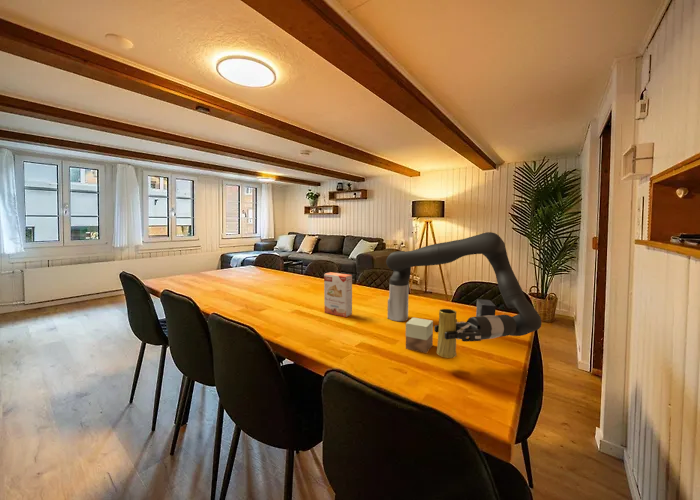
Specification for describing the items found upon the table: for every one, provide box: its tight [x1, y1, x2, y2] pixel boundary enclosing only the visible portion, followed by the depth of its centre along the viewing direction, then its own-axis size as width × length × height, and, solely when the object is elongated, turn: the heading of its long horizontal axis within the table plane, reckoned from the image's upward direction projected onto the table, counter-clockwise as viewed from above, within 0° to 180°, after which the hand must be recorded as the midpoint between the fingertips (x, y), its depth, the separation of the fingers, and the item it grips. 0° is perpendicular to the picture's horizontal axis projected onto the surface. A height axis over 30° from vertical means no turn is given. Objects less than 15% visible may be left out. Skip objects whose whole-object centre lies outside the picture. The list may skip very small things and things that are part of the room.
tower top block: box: [405, 317, 434, 340], centre depth 116 cm, size 8×8×5 cm
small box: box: [475, 298, 497, 317], centre depth 142 cm, size 11×6×10 cm, turn 168°
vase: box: [436, 308, 457, 359], centre depth 98 cm, size 6×6×14 cm
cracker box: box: [323, 271, 353, 318], centre depth 157 cm, size 14×6×21 cm, turn 55°
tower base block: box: [405, 333, 434, 354], centre depth 116 cm, size 8×8×5 cm
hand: (440, 332), depth 97 cm, fingers closed on vase, 5 cm apart
